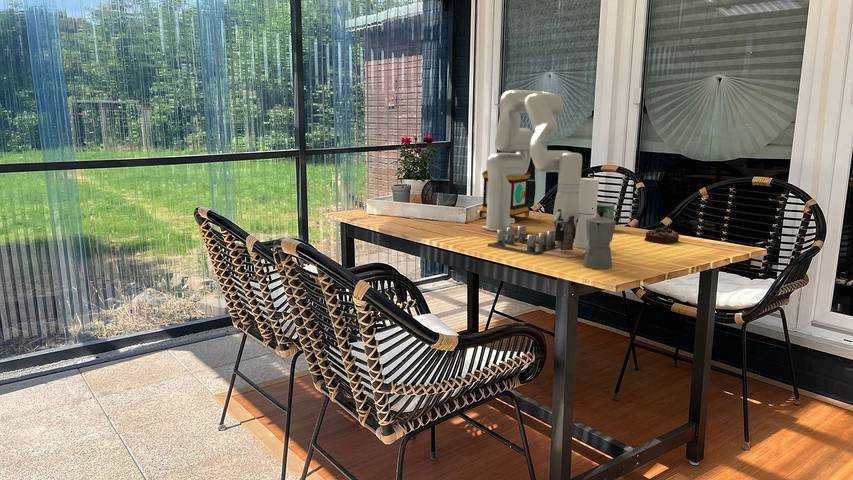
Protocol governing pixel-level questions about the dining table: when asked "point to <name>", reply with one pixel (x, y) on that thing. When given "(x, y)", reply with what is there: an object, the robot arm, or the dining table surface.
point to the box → (567, 235)
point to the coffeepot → (599, 242)
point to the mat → (564, 253)
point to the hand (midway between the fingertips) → (565, 239)
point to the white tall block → (586, 209)
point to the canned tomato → (605, 210)
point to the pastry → (662, 236)
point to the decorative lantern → (517, 194)
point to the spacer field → (543, 242)
